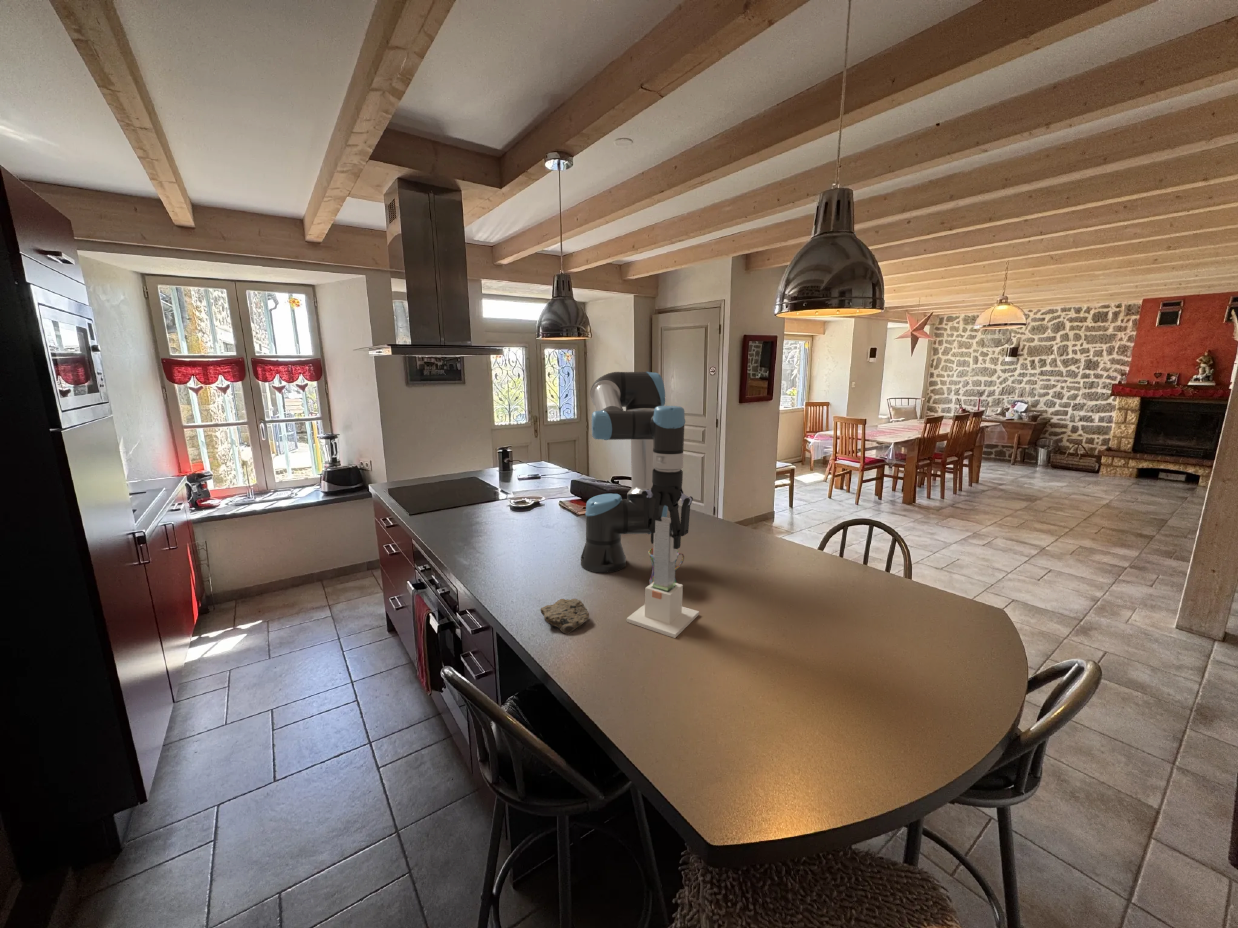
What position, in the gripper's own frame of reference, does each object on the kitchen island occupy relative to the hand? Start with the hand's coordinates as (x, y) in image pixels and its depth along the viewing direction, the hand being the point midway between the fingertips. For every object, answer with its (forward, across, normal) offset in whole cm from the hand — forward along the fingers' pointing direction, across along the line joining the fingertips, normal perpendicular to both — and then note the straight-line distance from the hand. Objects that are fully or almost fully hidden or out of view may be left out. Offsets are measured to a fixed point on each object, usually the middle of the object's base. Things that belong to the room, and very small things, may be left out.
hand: (664, 557), depth 126 cm
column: (+10, 0, 0) cm, 10 cm away
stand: (+17, 0, 0) cm, 17 cm away
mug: (+17, -9, +19) cm, 27 cm away
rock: (+17, -20, -16) cm, 31 cm away
